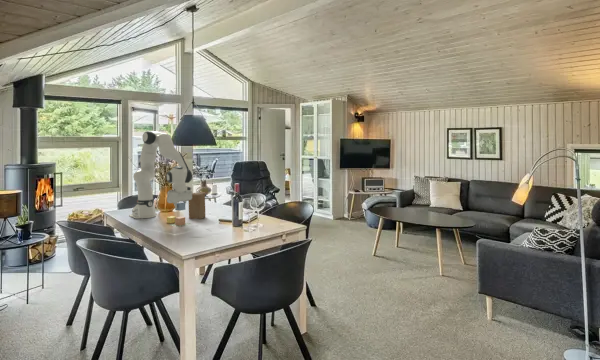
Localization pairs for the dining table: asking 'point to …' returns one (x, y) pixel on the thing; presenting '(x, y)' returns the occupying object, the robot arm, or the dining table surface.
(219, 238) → the dining table surface
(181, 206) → the brick slate
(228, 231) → the dining table surface
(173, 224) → the build plate
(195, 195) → the block
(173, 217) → the brick mustard
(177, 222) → the brick terracotta
